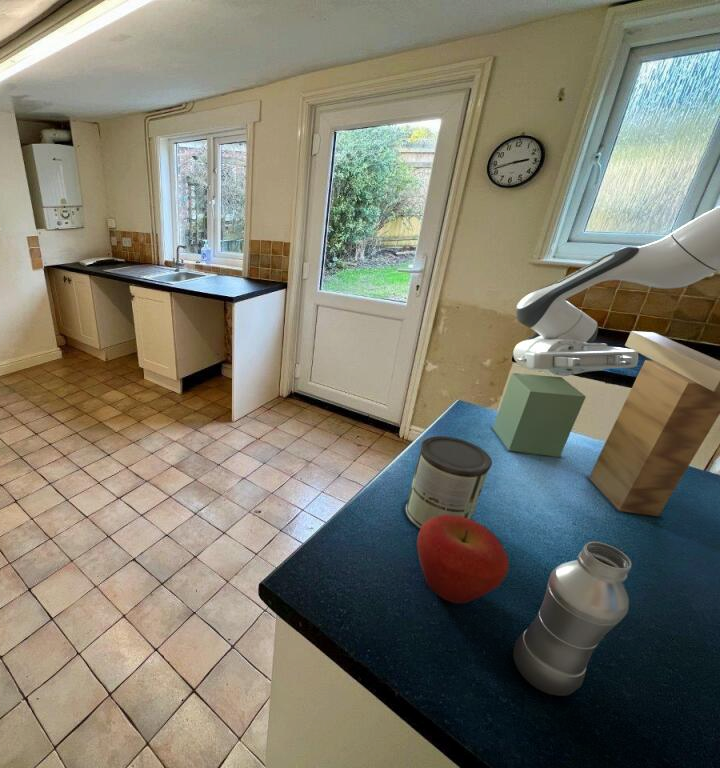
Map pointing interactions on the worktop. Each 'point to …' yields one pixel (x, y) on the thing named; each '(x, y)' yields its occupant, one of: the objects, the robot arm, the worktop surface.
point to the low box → (537, 414)
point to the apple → (460, 558)
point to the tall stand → (654, 439)
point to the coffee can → (447, 479)
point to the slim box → (677, 358)
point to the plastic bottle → (573, 619)
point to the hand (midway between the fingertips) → (602, 362)
